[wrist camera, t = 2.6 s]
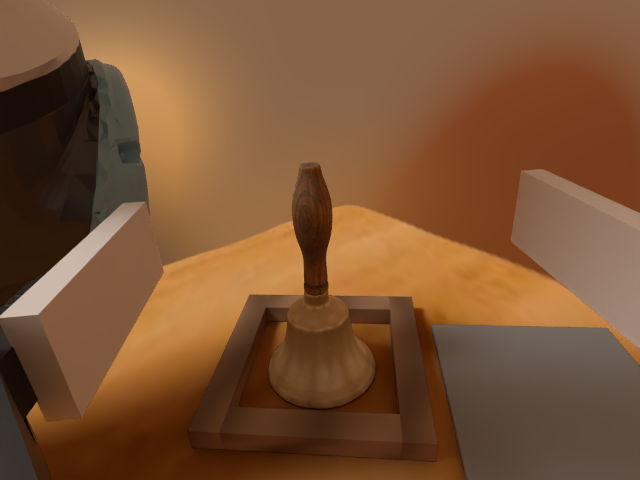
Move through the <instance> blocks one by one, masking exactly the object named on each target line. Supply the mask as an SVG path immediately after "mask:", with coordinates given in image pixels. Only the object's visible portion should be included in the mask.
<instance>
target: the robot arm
mask: <svg viewBox="0 0 640 480" xmlns="http://www.w3.org/2000/svg"><path fill="white" fill-rule="evenodd" d="M140 152H141V149H140V144H139V132H138V125H137V120H136V116H135V111H134V107H133V103H132V99H131V96H130V92H129V90H128V86H127V84H126V82H125V80H124V78H123V75H122V74H121V72H120V71H119V70H118V69H117V68H116V67H114V66H112V65H109V64H103V63H102V62H100V61H98V60H96V59H94V60H85V58H84V54H83V51H82V47H81V44H80V40H79V36H78V32H77V29H76V27H75V25H74V23H73V22H72V21H71V20H70V19H69V18H68V17H67V16H66V15H65V14H63V13H62V12H60V11H59V10H58V9H57V8H55V7H54V6H52V5H51V4H50V3H48V2H47V1H46V0H0V480H52V477H51V475H50V472H49V470H48V467H47V465H46V462H45V460H44V457H43V455H42V452H41V450H40V447H39V445H38V442H37V440H36V437H35V435H34V432H33V430H32V428H31V426H30V424H29V422H28V420H27V418H26V416H27V414H28V413H29V412H30V410H31V409H32V407H33V406H34V405H35V403H36V402H37V403H38V405H39V407H40V409H41V411H42V413H43V415H44V417H45V419H46V421H55V420H64V419H74V418H82V416H83V415H84V413H85V411H86V409H87V408H88V406H89V404H90V402H91V400H92V399H93V397H94V395H95V393H96V392H97V390H98V388H99V386H100V384H101V383H102V381H103V379H104V377H105V376H106V374H107V372H108V370H109V368H110V367H111V365H112V363H113V361H114V360H115V358H116V356H117V354H118V352H119V351H120V349H121V347H122V345H123V344H124V342H125V340H126V338H127V336H128V335H129V333H130V331H131V329H132V328H133V326H134V324H135V322H136V320H137V319H138V317H139V315H140V313H141V312H142V310H143V308H144V306H145V305H146V303H147V301H148V299H149V297H150V296H151V294H152V292H153V290H154V289H155V287H156V285H157V283H158V281H159V280H160V278H161V276H162V274H163V273H164V271H163V267H162V263H161V259H160V255H159V251H158V247H157V243H156V240H155V235H154V232H153V227H152V224H151V220H150V210H149V199H148V189H147V181H146V174H145V168H144V164H143V162H142V160H141V158H140ZM511 242H512V243H514V244H515V245H516V246H518V248H520V249H521V250H522V251H523V252H524V253H526V254H527V255H528V256H529V257H530V258H532V259H533V260H534V261H535V262H536V263H538V264H539V265H540V266H541V267H542V268H544V269H545V270H546V271H547V272H548V273H549V274H551V275H552V276H553V277H554V278H555V279H556V280H558V281H559V282H560V283H561V284H562V285H564V286H565V287H566V288H567V289H568V290H570V291H571V292H572V293H573V294H574V295H576V296H577V297H578V298H579V299H580V300H581V301H583V302H584V303H585V304H586V305H587V306H589V307H590V308H591V309H592V310H593V311H595V312H596V313H597V314H598V315H599V316H601V317H602V318H603V319H604V320H605V321H606V322H608V323H609V324H610V325H611V326H612V327H614V328H615V329H616V330H617V331H618V332H620V333H621V334H622V335H623V336H624V337H626V338H627V339H628V340H629V341H630V342H631V343H633V344H634V345H635V346H636V347H637V348H639V349H640V213H638V212H636V211H634V210H632V209H629V208H627V207H625V206H623V205H620V204H618V203H616V202H614V201H612V200H610V199H607V198H605V197H603V196H601V195H598V194H596V193H594V192H592V191H590V190H587V189H585V188H583V187H581V186H579V185H576V184H574V183H572V182H570V181H567V180H565V179H563V178H561V177H559V176H556V175H554V174H552V173H550V172H547V171H545V170H543V169H537V170H527V171H526V170H525V171H521V177H520V184H519V191H518V197H517V204H516V211H515V218H514V224H513V231H512V237H511Z"/></svg>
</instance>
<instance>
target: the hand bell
mask: <svg viewBox="0 0 640 480" xmlns="http://www.w3.org/2000/svg"><path fill="white" fill-rule="evenodd" d="M292 216H293V217H292V218H293V225H294V230H295V234H296V238H297V241H298V243H299V246H300V248H301V251H302V254H303V260H304V281H305V282H304V290H305V291H304V297H302V298H300V299H298V300H297V301H295V302H294V303H293V304H292V305H291V307H290V308H289V310H288V313H287V331H286V337H285V341H284V342H283V343H282V344H281V345H280V346H279V347H278V348H277V349H276V351H275V352H274V354H273V356H272V358H271V360H270V363H269V367H268V376H269V381H270V383H271V386H272V387H273V389H274V390H275V391H276V392H277V393H278V394H279V396H281V397H282V398H283V399H285V400H286V401H288V402H290V403H292V404H294V405H297V406H301V407H305V408H318V409H324V408H332V407H337V406H341V405H344V404H346V403H348V402H351V401H352V400H354V399H356V398H357V397H359V396H360V395H362V394H363V393H364V392H365V391H366V390H367V389H368V387H369V386H370V385H371V383H372V381H373V379H374V376H375V372H376V363H375V359H374V356H373V354H372V352H371V351H370V349H369V348H368V346H367V345H366V344H365V343H364V342H363V341H362V340H361V339H359V338H358V337H356V336H355V335H354V332H353V330H352V327H351V322H350V318H349V311H348V308H347V306H346V304H345V303H344V302H343V301H342V300H341V299H339V298H337V297H335V296H332V295H328V281H327V267H326V252H327V247H328V244H329V240H330V236H331V230H332V204H331V198H330V195H329V192H328V188H327V186H326V183H325V181H324V178H323V176H322V172H321V168H320V165H319V164H317V163H303V164H301V165H300V166H299V173H298V179H297V182H296V186H295V190H294V194H293V200H292Z"/></svg>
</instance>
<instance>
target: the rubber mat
mask: <svg viewBox="0 0 640 480" xmlns="http://www.w3.org/2000/svg"><path fill="white" fill-rule="evenodd" d="M431 328H432V333H433V337H434V342H435V346H436V350H437V355H438V359H439V363H440V368H441V372H442V377H443V381H444V385H445V390H446V394H447V399H448V403H449V407H450V412H451V416H452V421H453V425H454V429H455V434H456V438H457V442H458V447H459V451H460V456H461V460H462V464H463V469H464V473H465V478H466V480H640V366H639V365H638V364H637V363H636V362H635V360H634V359H633V358H632V357H631V356H630V354H629V353H628V352H627V351H626V350H625V349H624V347H623V346H622V345H621V344H620V343H619V341H618V340H617V339H616V338H615V337H614V335H613V334H612V333H611V332H610V331H609V329H608V328H588V327H539V326H491V325H443V324H432V327H431Z"/></svg>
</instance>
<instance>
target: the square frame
mask: <svg viewBox="0 0 640 480" xmlns="http://www.w3.org/2000/svg"><path fill="white" fill-rule="evenodd" d="M302 297H304V295H249V297H248V299H247V301H246V304H245V306H244V308H243V310H242V312H241V315H240V317H239V319H238V321H237V324H236V326H235V328H234V330H233V332H232V335H231V337H230V339H229V341H228V343H227V346H226V348H225V350H224V352H223V354H222V357H221V359H220V361H219V363H218V365H217V368H216V370H215V372H214V374H213V376H212V379H211V381H210V383H209V385H208V387H207V390H206V392H205V394H204V396H203V399H202V401H201V403H200V405H199V407H198V410H197V412H196V414H195V416H194V418H193V421H192V423H191V425H190V427H189V429H188V434H189V437H190V441H191V445H192V448H210V449H227V450H244V451H262V452H279V453H297V454H314V455H332V456H349V457H366V458H384V459H401V460H419V461H436V456H437V447H438V442H437V437H436V431H435V425H434V420H433V414H432V409H431V403H430V397H429V392H428V386H427V381H426V375H425V369H424V364H423V358H422V353H421V347H420V341H419V336H418V330H417V325H416V319H415V313H414V308H413V302H412V297H391V296H335V297H337V298H339V299H341V300H342V301H343V302H344V303H345V304H346V306H347V308H348V311H349V318H350V322H351V323H387V324H390V331H391V343H392V354H393V366H394V378H395V389H396V401H397V413H398V414H388V413H366V412H344V411H321V410H299V409H277V408H255V407H238V405H239V402H240V399H241V396H242V393H243V390H244V387H245V384H246V382H247V379H248V376H249V373H250V370H251V367H252V364H253V361H254V358H255V356H256V353H257V350H258V347H259V344H260V341H261V338H262V335H263V333H264V330H265V327H266V324H267V321H287V313H288V310H289V308H290V307H291V305H292V304H293V303H294V302H295V301H297V300H298V299H300V298H302Z"/></svg>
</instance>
